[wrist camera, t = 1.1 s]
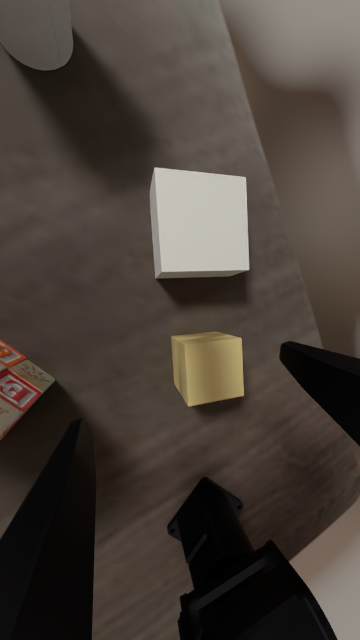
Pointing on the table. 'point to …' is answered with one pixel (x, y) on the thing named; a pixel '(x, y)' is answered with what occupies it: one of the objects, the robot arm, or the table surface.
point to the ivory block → (198, 224)
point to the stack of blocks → (18, 386)
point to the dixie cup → (37, 32)
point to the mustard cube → (207, 367)
